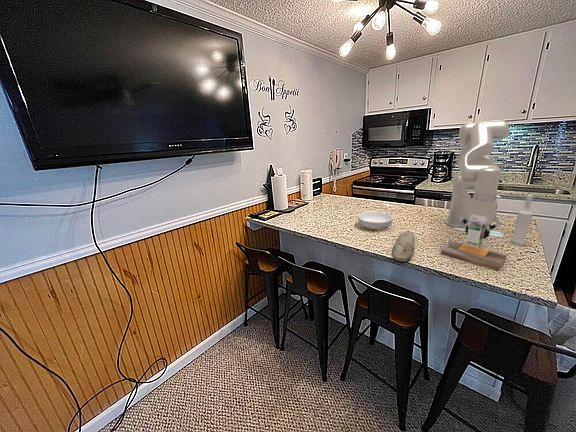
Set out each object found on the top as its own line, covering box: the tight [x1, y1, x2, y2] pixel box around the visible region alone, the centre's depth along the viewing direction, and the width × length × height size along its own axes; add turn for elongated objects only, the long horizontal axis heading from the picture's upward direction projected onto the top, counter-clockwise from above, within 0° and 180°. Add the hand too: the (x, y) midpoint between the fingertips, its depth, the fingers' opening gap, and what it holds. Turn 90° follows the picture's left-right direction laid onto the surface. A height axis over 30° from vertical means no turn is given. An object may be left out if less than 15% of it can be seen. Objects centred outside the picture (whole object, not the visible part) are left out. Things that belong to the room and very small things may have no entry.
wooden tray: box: [440, 240, 508, 272], centre depth 114 cm, size 12×22×4 cm, turn 40°
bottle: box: [510, 194, 534, 246], centre depth 120 cm, size 5×5×25 cm
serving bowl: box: [357, 210, 394, 230], centre depth 156 cm, size 21×21×7 cm
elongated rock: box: [392, 231, 416, 263], centre depth 127 cm, size 35×5×10 cm
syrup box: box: [465, 214, 487, 248], centre depth 110 cm, size 6×6×14 cm
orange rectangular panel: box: [458, 243, 490, 257], centre depth 113 cm, size 7×10×1 cm
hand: (476, 235), depth 111 cm, fingers closed on syrup box, 5 cm apart
